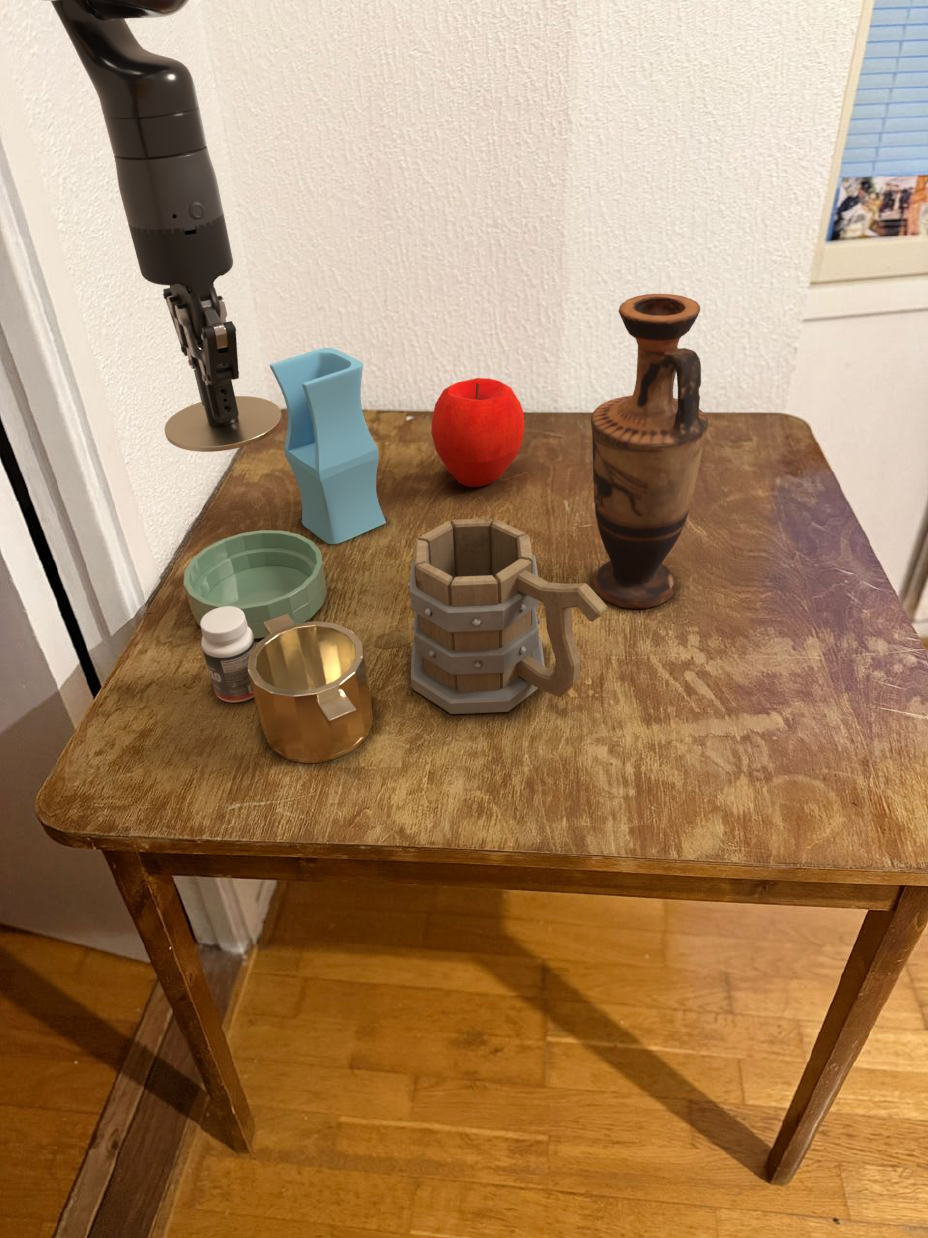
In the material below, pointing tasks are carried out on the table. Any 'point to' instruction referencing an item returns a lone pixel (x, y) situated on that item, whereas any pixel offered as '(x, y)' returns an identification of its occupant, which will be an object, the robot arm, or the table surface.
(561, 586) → the tankard
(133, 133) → the robot arm
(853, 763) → the table surface
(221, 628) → the pill bottle
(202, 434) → the pot lid
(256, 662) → the pot
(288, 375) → the vase
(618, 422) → the vase
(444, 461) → the apple
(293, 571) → the bowl
